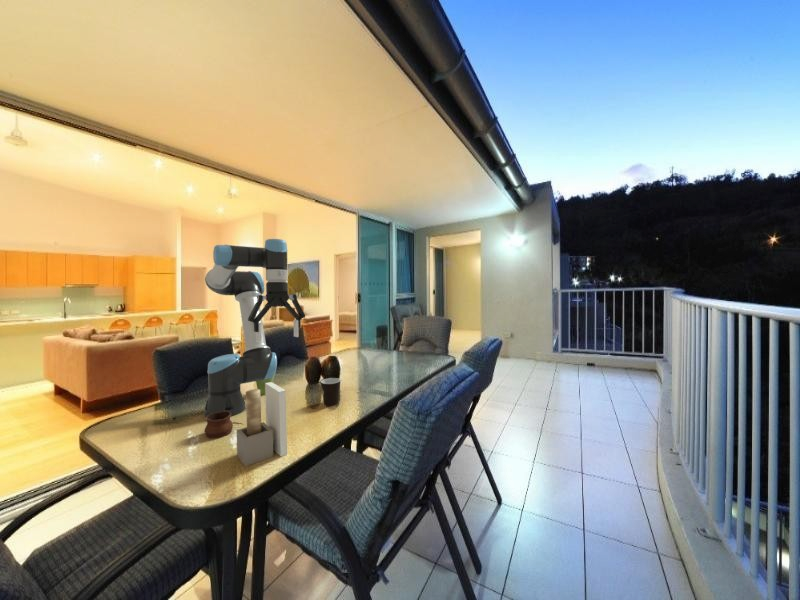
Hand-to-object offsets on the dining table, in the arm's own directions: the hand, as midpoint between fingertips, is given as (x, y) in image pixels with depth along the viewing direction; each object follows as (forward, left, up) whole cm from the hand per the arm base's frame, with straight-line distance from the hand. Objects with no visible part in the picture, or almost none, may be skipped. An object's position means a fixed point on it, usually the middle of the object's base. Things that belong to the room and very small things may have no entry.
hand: (278, 338), depth 114 cm
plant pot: (-25, +35, -33) cm, 54 cm away
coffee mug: (+12, +25, -33) cm, 43 cm away
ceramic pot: (-19, -7, -33) cm, 39 cm away
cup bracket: (+3, -20, -33) cm, 38 cm away
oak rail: (+2, -21, -29) cm, 36 cm away
